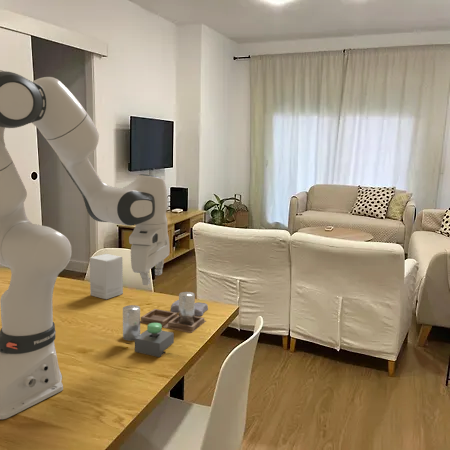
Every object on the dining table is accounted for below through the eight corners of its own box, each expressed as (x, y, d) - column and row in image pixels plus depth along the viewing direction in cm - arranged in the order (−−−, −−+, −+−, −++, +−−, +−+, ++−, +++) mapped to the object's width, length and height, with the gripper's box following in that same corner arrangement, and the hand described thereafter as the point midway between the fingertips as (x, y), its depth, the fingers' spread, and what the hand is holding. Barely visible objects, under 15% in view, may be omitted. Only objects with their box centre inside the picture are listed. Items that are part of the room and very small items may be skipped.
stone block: (179, 311, 165) (168, 315, 155) (180, 298, 165) (170, 301, 155) (209, 316, 161) (200, 321, 152) (211, 303, 161) (202, 306, 152)
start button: (156, 346, 126) (157, 329, 125) (144, 343, 128) (144, 326, 127) (164, 340, 130) (164, 324, 129) (152, 338, 131) (152, 321, 130)
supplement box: (123, 294, 176) (123, 256, 173) (106, 300, 168) (105, 261, 166) (107, 289, 180) (106, 253, 178) (89, 295, 173) (88, 257, 170)
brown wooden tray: (191, 336, 138) (191, 328, 138) (138, 325, 145) (138, 318, 145) (206, 323, 149) (206, 316, 148) (156, 314, 156) (156, 307, 155)
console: (159, 357, 124) (159, 343, 123) (134, 351, 127) (134, 338, 126) (173, 345, 131) (173, 332, 131) (149, 340, 134) (149, 328, 134)
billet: (134, 345, 131) (133, 312, 129) (119, 341, 133) (119, 309, 131) (143, 338, 136) (143, 306, 134) (129, 335, 137) (129, 304, 136)
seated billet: (189, 328, 142) (190, 297, 140) (175, 325, 144) (176, 295, 142) (196, 322, 146) (197, 293, 145) (183, 320, 148) (183, 290, 147)
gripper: (154, 224, 137) (155, 268, 140) (125, 238, 118) (127, 289, 120) (174, 225, 136) (174, 270, 139) (148, 240, 116) (149, 291, 119)
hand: (152, 279), depth 129 cm, fingers open, 8 cm apart
